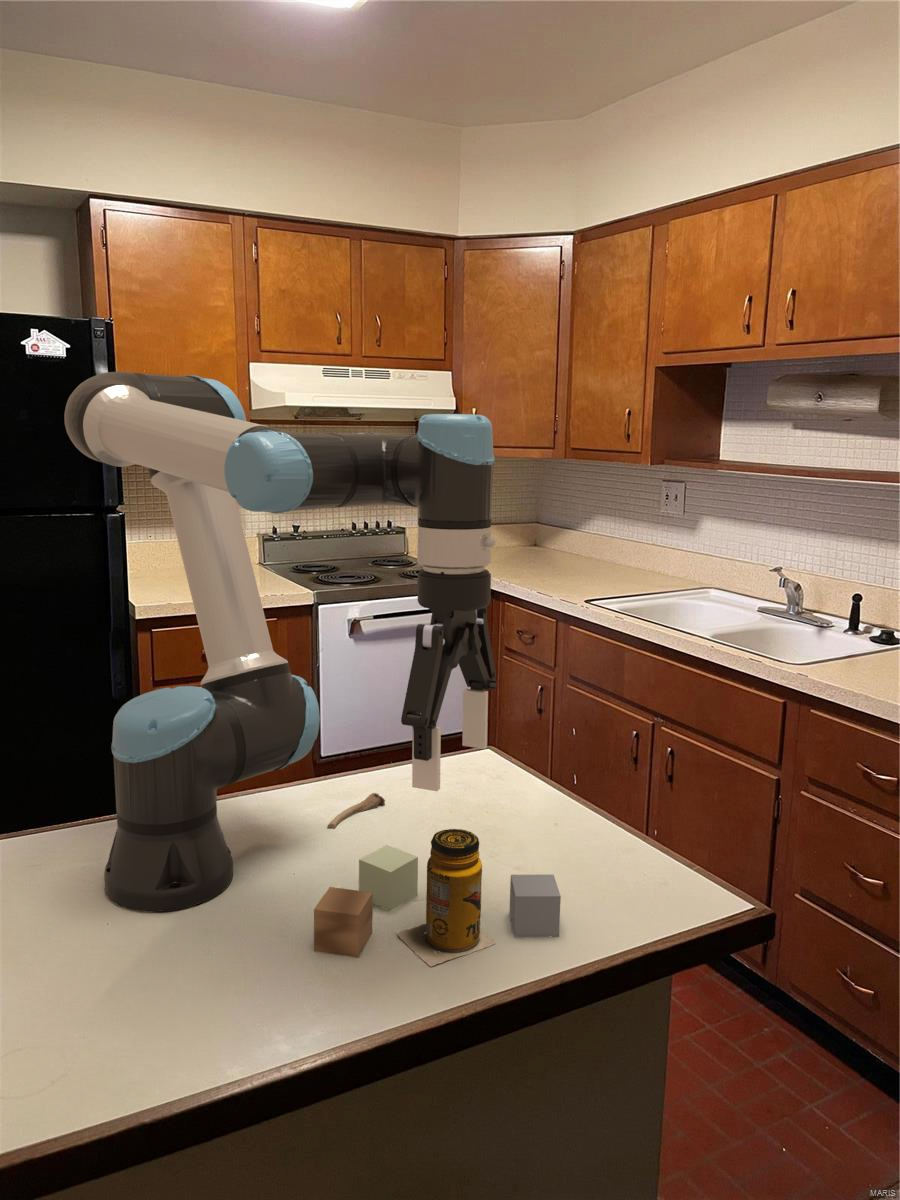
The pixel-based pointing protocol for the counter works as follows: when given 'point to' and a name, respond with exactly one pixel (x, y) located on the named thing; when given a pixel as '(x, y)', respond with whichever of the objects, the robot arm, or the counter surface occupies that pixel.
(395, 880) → the sage cube
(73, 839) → the counter surface
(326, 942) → the walnut cube
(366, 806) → the bone
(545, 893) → the slate cube
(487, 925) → the counter surface
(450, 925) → the condiment
